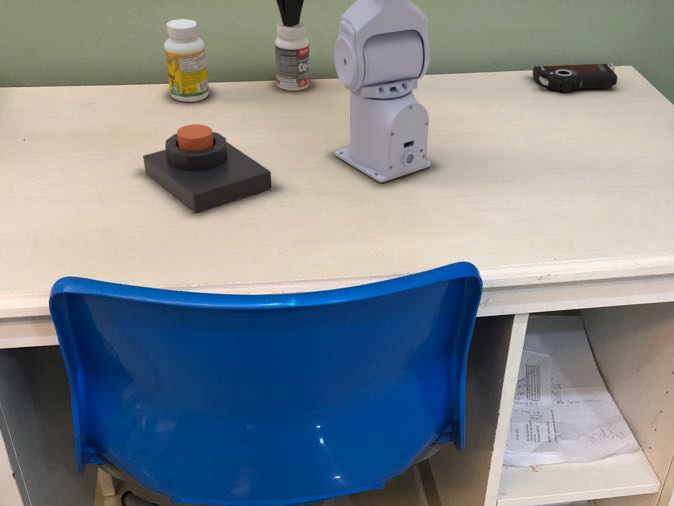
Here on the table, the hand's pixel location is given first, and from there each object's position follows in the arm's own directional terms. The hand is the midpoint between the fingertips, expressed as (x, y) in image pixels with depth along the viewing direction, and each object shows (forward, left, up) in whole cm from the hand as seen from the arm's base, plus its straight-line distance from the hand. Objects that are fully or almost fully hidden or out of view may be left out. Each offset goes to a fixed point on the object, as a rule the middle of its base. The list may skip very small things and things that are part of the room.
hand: (291, 24), depth 119 cm
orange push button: (-17, +25, -5) cm, 31 cm away
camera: (-23, -34, -9) cm, 42 cm away
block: (-19, +25, -8) cm, 32 cm away
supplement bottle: (+5, +14, -9) cm, 17 cm away
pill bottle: (0, 0, -9) cm, 9 cm away
